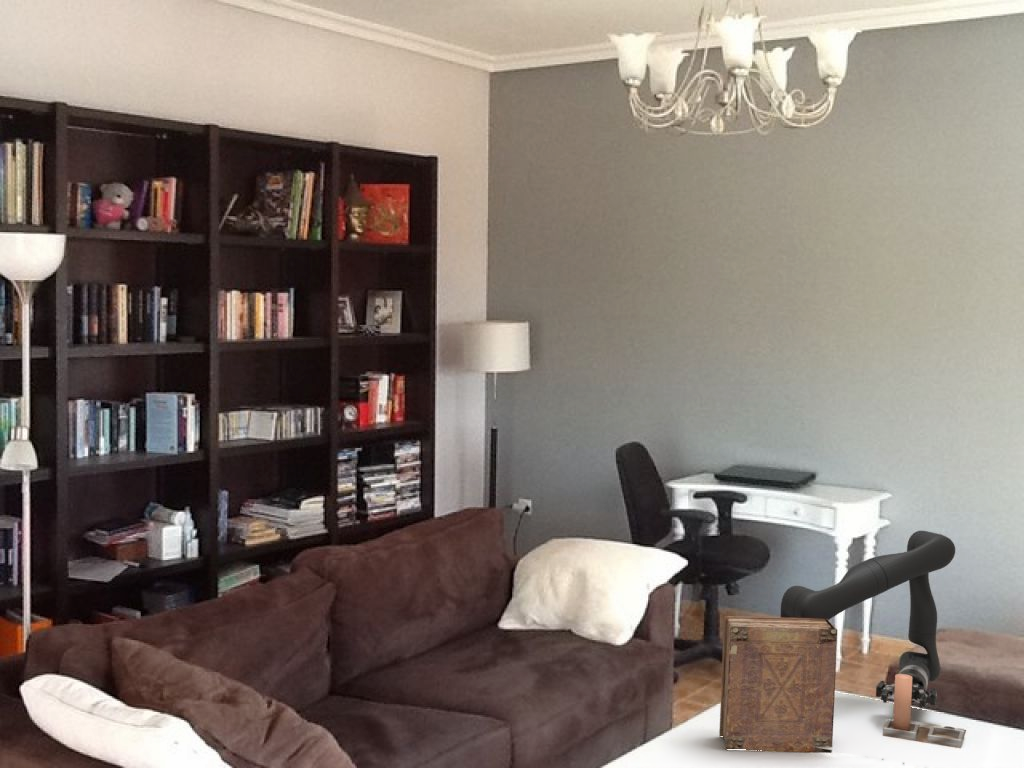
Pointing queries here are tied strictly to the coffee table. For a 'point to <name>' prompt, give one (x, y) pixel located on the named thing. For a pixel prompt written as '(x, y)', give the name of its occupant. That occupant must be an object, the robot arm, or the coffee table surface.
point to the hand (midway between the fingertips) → (902, 701)
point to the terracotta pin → (902, 702)
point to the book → (778, 684)
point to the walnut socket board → (927, 733)
